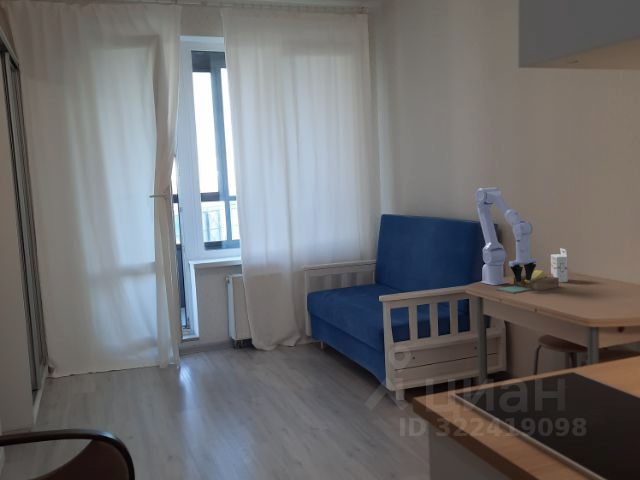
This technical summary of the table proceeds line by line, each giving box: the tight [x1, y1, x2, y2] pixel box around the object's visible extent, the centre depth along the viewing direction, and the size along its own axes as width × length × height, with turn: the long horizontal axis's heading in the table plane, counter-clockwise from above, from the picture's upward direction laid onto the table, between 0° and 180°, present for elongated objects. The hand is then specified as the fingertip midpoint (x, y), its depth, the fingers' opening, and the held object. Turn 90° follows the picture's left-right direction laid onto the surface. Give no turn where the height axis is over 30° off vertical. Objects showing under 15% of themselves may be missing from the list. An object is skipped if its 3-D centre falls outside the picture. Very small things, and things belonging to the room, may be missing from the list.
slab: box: [524, 269, 546, 286], centre depth 273 cm, size 4×8×3 cm, turn 116°
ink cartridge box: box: [550, 247, 569, 283], centre depth 282 cm, size 9×5×15 cm, turn 179°
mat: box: [496, 285, 532, 294], centre depth 268 cm, size 10×10×1 cm
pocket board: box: [513, 274, 560, 291], centre depth 273 cm, size 14×12×4 cm
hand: (523, 281), depth 270 cm, fingers open, 5 cm apart
